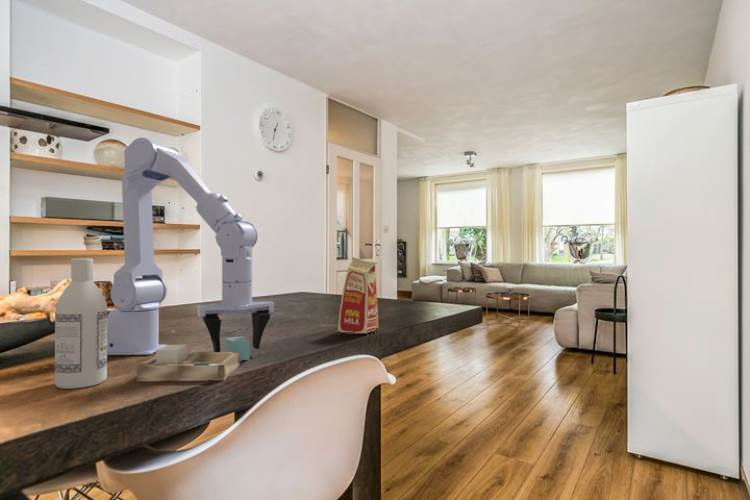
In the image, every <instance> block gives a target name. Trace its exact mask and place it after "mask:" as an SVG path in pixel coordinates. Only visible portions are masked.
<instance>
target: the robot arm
mask: <svg viewBox="0 0 750 500" xmlns="http://www.w3.org/2000/svg"><path fill="white" fill-rule="evenodd" d="M171 178H173V180H174V181H175V182H176V183H177V184H178V185H179V186H181V188H182V189H183V190H184V191H185V192H186V193H187V194H188V195H189V196H190V197H191V198H192V199H193V200H194V201H195V202H196V209H195V210H196V212H197V213H198V215H199V216H200V217H201V218H202V219H203V220H204V222H205V223H206V224H207V225H208V226H209V227H210V229H211V230H212V231H213V232H214V233H215V235H214V236H215V242H216V244H217V245H218V247H219V249H220V256H221V303H216V304H215V303H214V304H213V303H212V304H205V305H197V317H199V318H202V320H203V322H204V324H205V326H206V328H207V331H208V333H209V336H210V339H211V343H212V347H213V352H221V327H222V326H221V325H222V320H221V319H220V316H221V315H222V316H223V315H226V316H227V315H236V314H250V313H251V320H252V323H251V324H252V348H254V349H255V350H258V349H260V345H261V341H262V337H263V333H264V331H265V329H266V327H267V324H268V322H269V320H270V319H271V312H274V311H275V302H273V301H253V248H254V247H255V245H256V244H257V242H258V231H257V230H256V229H257V228H255V225H254V224H253V223H252V222H250V221H243V216H242V215H241V214H240V213H237V212H236V211H235V210H234V208H232V206H231V205H230V204H229V202H228V201H229V198H228V197H227V196H226V195H222V194H220V193H218V192H212V191H210V190H209V188H208V187H207V186H206V184H205V183H204V182H203V180H202V179H201V178H200V176H198V174H197V173H196V172H195V170H194V169H193V167H192V166H191V165H190V163H189V162H188V158H187V157H185V156H184V155H183V154H182V153H181V151H180V150H178V148H175V147H172V146H168V145H164V144H161V143H158V142H155V141H153V140H151V139H148V138H146V137H137V138H136V139H134V140H132V142H131V143H130V144H129V145H127V147H126V148H125V149H124V170H123V174H122V177H121V191H122V193H121V194H122V222H123V223H122V224H123V225H122V226H123V247H124V248H123V249H124V253H123V254H124V264H123V265H122V266H121V267H119V269H117V270H116V271H115V273H113V283H112V286H111V290H110V299H111V301H112V303H113V305H114V307H116V309H112V310H111V311H109V313H107V356H131V355H133V356H141V355H142V356H143V355H146V356H148V355H153V354H154V353H156V350H158V349H160V348H162V347H164V346H166V345H167V344H163V343H162V344H159V339H160V337H159V335H160V333H159V331H160V330H159V328H160V327H159V325H160V324H159V323H160V321H159V319H160V318H159V317H160V316H159V315H160V314H159V313H160V311H159V310H160V309H159V308H161V307H162V303H163V302H164V301H165V299H166V297H167V294H168V288H167V284H166V282H165V280H164V276H163V270H162V269H161V268H160V267H159V266H158V265H157V263H155V251H154V250H155V246H154V223H153V196H152V195H153V194H152V193H153V192H152V191H153V190H154V188H155V187H156V186H158V185H159V184H162V183H164V182H166V181H167V180H169V179H171ZM140 276H141V277H140Z"/></svg>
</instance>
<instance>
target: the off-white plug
mask: <svg viewBox="0 0 750 500" xmlns="http://www.w3.org/2000/svg"><path fill="white" fill-rule="evenodd" d="M165 345H166V346H164V347H162V348H160V349H158V350H156V352H155V354H156V355H155V356H156V363H168V362H170V364H181V363H183V362H184V361H186V360H187V352H188V344H165Z"/></svg>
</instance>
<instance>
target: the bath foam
mask: <svg viewBox="0 0 750 500" xmlns="http://www.w3.org/2000/svg"><path fill="white" fill-rule="evenodd" d="M70 262H71V263H70V282H69V283H68V284H67V286H66V288H65V289H64V290H63V292H62V293H61V295H60V296H59V299H58V300H57V303H56V306H55V313H54V314H55V315H54V385H55V386H56V388H59V389H61V390H62V389H63V390H77V389H84V388H89V387H94V386H97V385H99V384H101V383H103V382H105V381H106V380H107V377H108V373H107V372H108V370H107V369H108V355H107V316H108V305H107V301H106V298H105V295H104V294H103V292H102V291H101V289H100V288H99V287H98V286H97V284H96V283H95V281H94V280H93V278H94V258H83V257H82V258H81V257H80V258H71V261H70Z"/></svg>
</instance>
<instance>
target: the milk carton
mask: <svg viewBox="0 0 750 500" xmlns="http://www.w3.org/2000/svg"><path fill="white" fill-rule="evenodd" d="M377 264H378V262H376V261H370V260H369V261H368V260H364V259H362V258H358V257H355V256H351V263H350V264H349V265H348V268H347V271H346V275H345V281H344V284H343V290H342V296H341V299H340V307H339V315H338V323H337V324H338V325H337V332H338V331H340V332H355V333H367V332H370V331H374V330H376V329H377V328H378V329H379V309H378V295H377V294H378V289H377V280H376V278H377V277H376V265H377Z"/></svg>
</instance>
